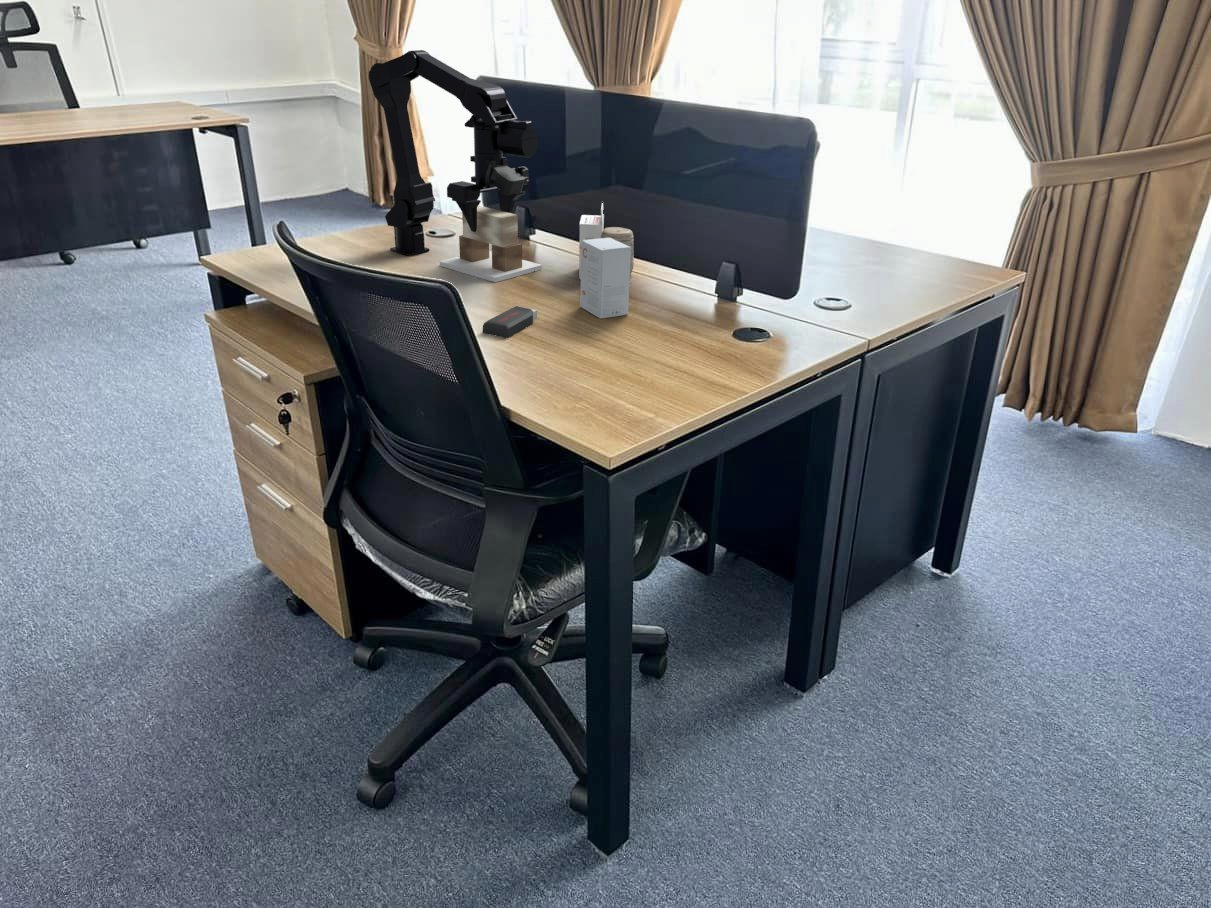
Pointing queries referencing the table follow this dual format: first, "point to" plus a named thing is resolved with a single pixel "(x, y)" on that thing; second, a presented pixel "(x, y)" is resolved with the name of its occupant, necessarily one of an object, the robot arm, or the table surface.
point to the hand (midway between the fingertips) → (489, 228)
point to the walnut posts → (501, 256)
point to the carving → (621, 239)
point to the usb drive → (510, 322)
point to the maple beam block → (493, 227)
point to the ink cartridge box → (590, 230)
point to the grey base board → (488, 268)
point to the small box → (605, 277)
